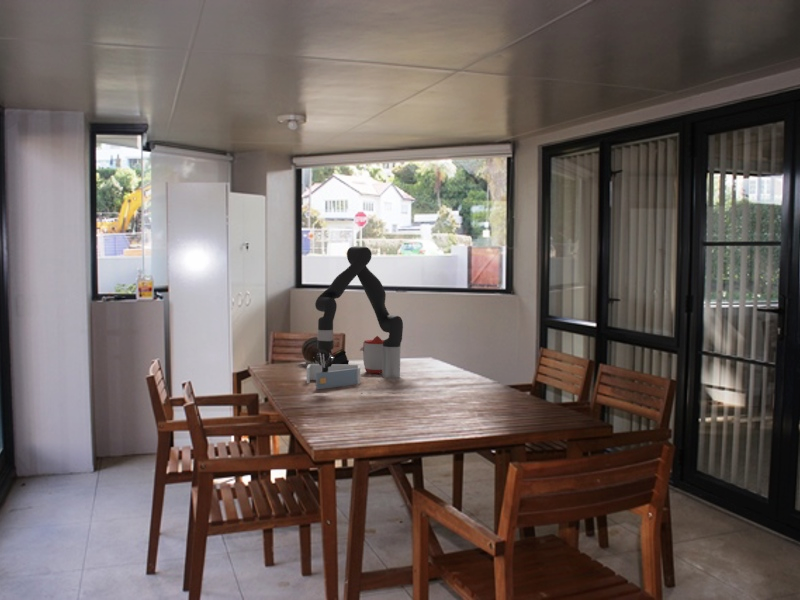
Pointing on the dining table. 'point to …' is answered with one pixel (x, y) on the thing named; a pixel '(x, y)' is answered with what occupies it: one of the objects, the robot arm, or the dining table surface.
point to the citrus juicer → (373, 355)
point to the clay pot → (310, 351)
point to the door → (336, 378)
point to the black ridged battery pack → (340, 357)
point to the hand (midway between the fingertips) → (325, 375)
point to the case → (317, 368)
